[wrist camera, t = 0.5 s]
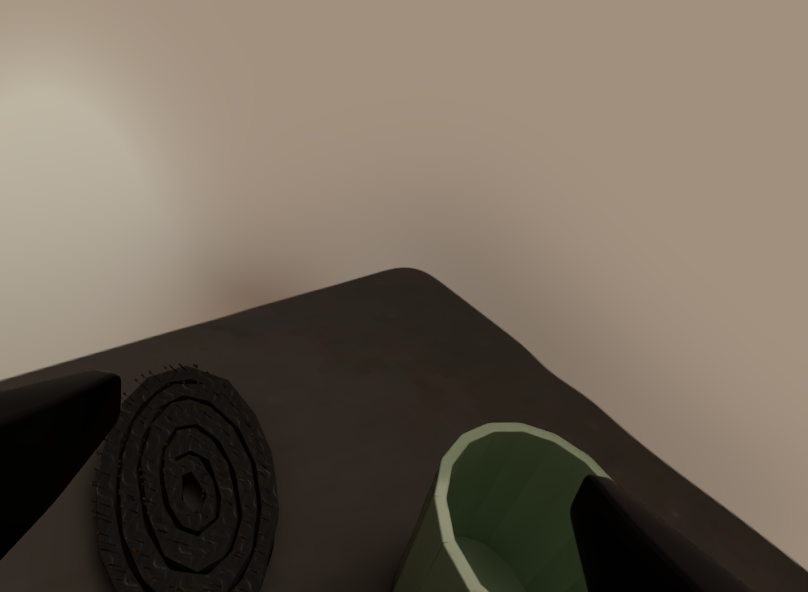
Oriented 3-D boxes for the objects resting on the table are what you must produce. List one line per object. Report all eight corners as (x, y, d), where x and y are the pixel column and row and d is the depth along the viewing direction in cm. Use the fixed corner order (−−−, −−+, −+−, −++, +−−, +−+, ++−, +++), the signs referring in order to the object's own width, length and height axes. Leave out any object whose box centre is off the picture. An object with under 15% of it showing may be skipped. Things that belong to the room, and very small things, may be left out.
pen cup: (565, 712, 16) (711, 642, 11) (398, 739, 15) (466, 675, 9) (508, 529, 22) (583, 422, 17) (383, 536, 21) (419, 421, 15)
